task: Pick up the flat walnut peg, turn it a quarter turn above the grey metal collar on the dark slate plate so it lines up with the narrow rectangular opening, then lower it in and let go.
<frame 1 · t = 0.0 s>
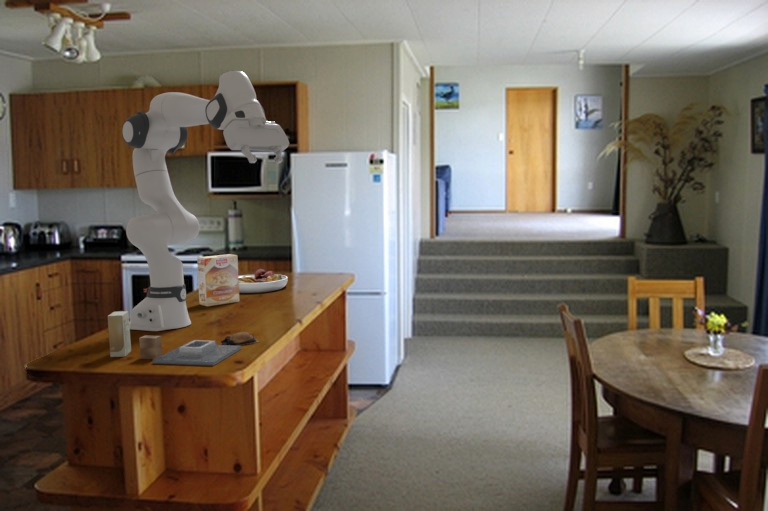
hand: (266, 162, 191), 54 cm above the table, tool tilted 30°, fingers open, 8 cm apart
bread roll: (240, 344, 206), on the table
coffeecake box: (219, 303, 275), on the table
skincare box: (120, 355, 195), on the table
bowl: (255, 289, 311), on the table
walnut peg: (151, 357, 191), on the table
metal duct collar: (198, 356, 191), on the table
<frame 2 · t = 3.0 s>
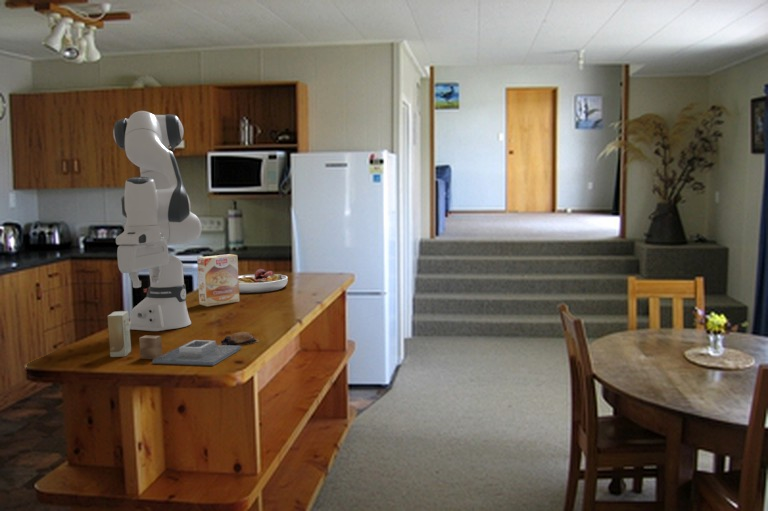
hand: (146, 284, 188), 21 cm above the table, tool pointing down, fingers open, 8 cm apart
nothing on the table moved.
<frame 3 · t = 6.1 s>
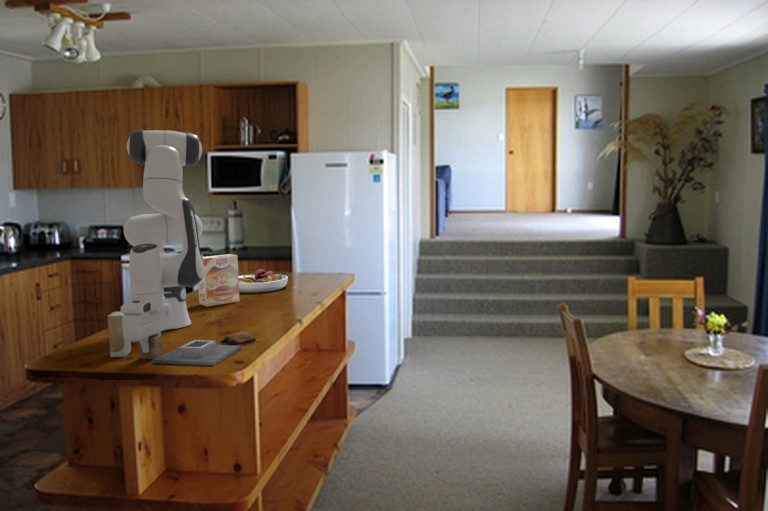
hand: (151, 350, 190), 2 cm above the table, tool pointing down, fingers closed on walnut peg, 3 cm apart
walnut peg: (151, 357, 191), on the table, touching gripper
everything else where it was.
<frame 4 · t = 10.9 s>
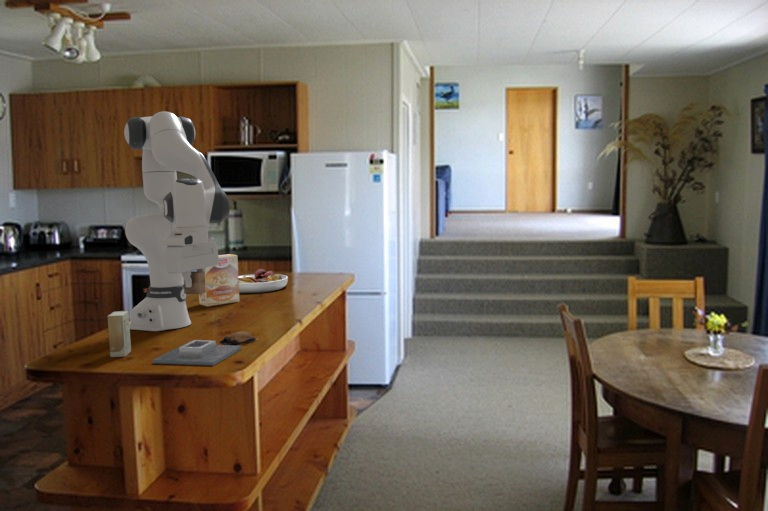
hand: (194, 285, 189), 20 cm above the table, tool pointing down, fingers closed on walnut peg, 3 cm apart
walnut peg: (195, 293, 189), point 18 cm above the table, touching gripper
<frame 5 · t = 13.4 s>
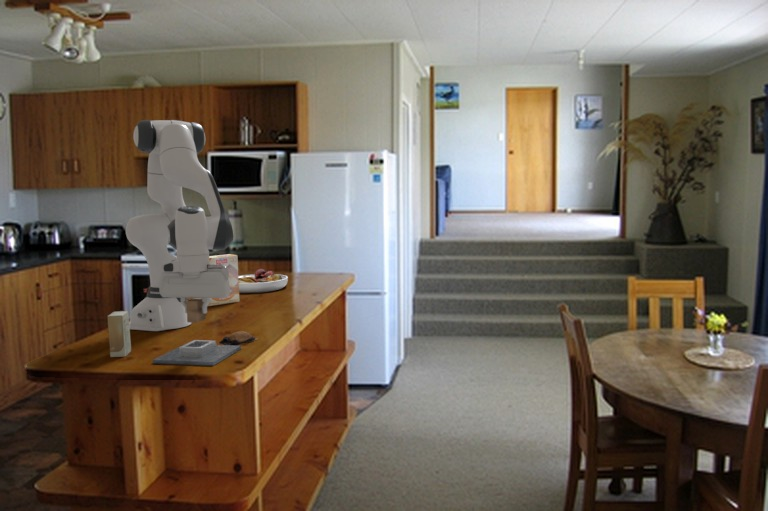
hand: (196, 313, 189), 12 cm above the table, tool pointing down, fingers closed on walnut peg, 3 cm apart
walnut peg: (196, 320, 190), point 10 cm above the table, touching gripper
when the fingers open (4 cm above the table, at t = 15.7 s): walnut peg drops 1 cm, resting on metal duct collar.
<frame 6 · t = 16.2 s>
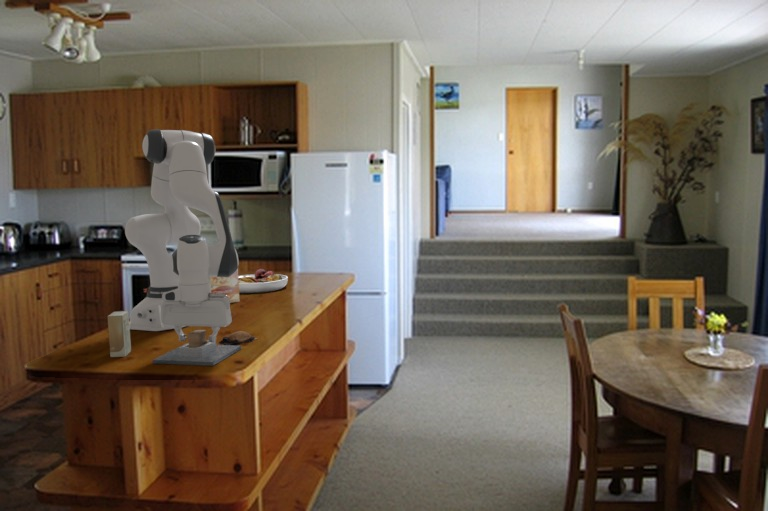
hand: (197, 341, 190), 4 cm above the table, tool pointing down, fingers open, 8 cm apart
walnut peg: (198, 352, 191), point 1 cm above the table, touching metal duct collar
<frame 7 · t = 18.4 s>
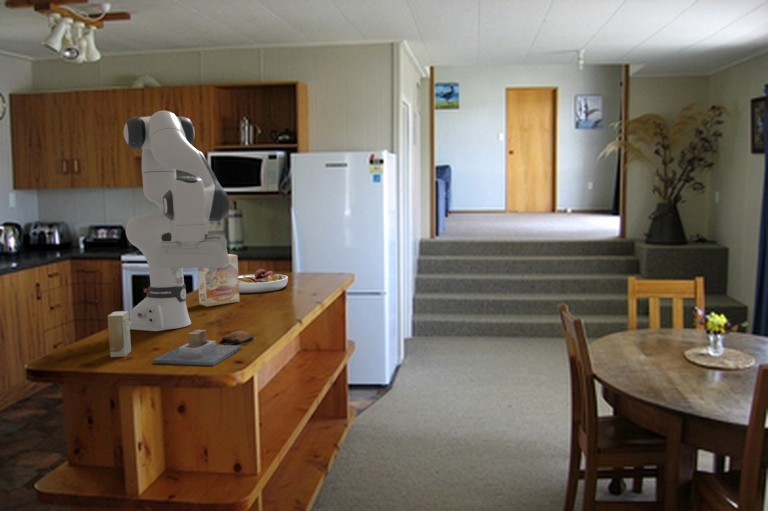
hand: (194, 283, 188), 21 cm above the table, tool pointing down, fingers open, 8 cm apart
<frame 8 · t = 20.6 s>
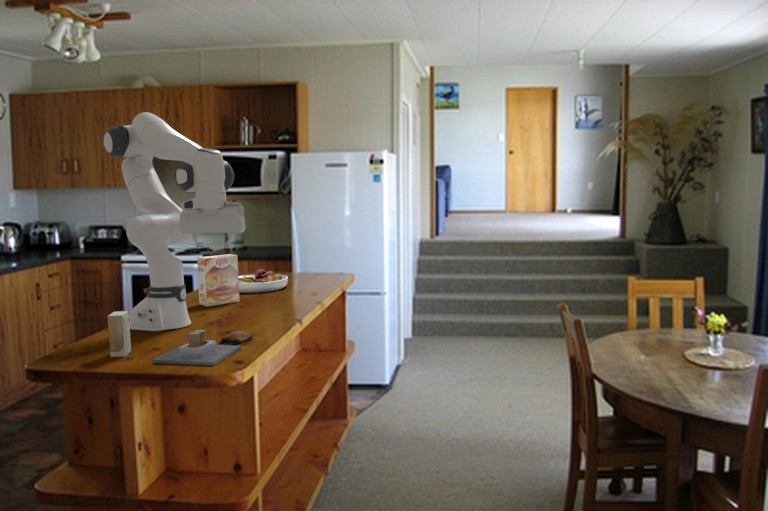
hand: (213, 248, 204), 29 cm above the table, tool pointing down, fingers open, 8 cm apart
at the end: walnut peg 0.0 cm off-centre on the metal duct collar, point 1.0 cm above the metal duct collar's base; walnut peg tilted 0°; the gripper is holding nothing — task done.
